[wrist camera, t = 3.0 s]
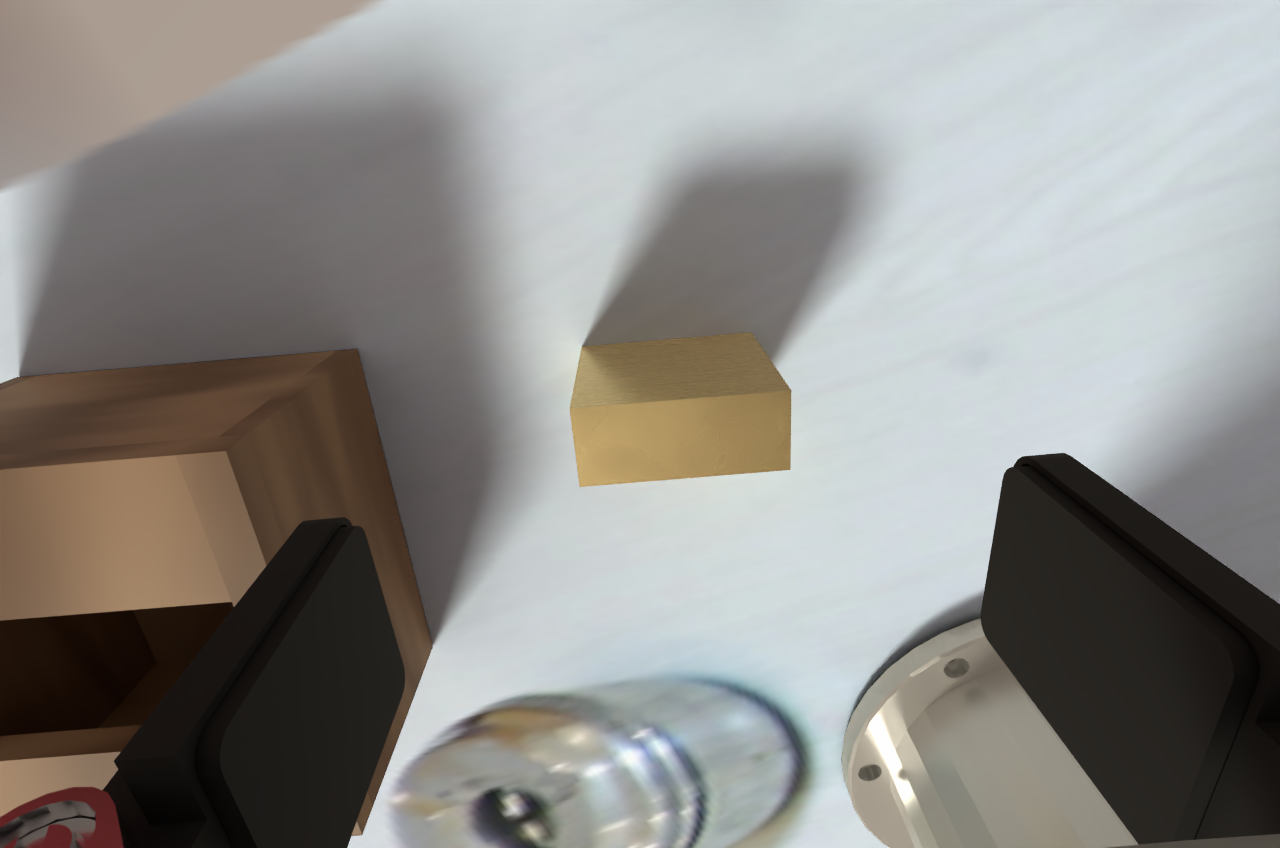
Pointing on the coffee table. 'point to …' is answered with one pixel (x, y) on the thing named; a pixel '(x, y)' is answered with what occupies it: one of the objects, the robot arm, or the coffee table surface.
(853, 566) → the coffee table surface
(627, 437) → the gold metal block
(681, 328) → the coffee table surface
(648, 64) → the coffee table surface
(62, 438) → the box
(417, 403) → the coffee table surface
